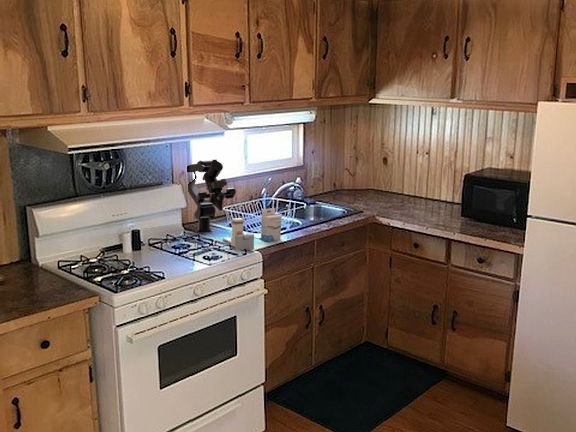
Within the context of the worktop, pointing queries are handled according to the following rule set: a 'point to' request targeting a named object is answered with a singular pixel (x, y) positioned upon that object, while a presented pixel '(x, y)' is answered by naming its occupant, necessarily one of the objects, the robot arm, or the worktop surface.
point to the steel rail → (227, 240)
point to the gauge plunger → (243, 235)
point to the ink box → (270, 225)
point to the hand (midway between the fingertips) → (221, 210)
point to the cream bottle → (236, 228)
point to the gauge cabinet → (244, 242)
